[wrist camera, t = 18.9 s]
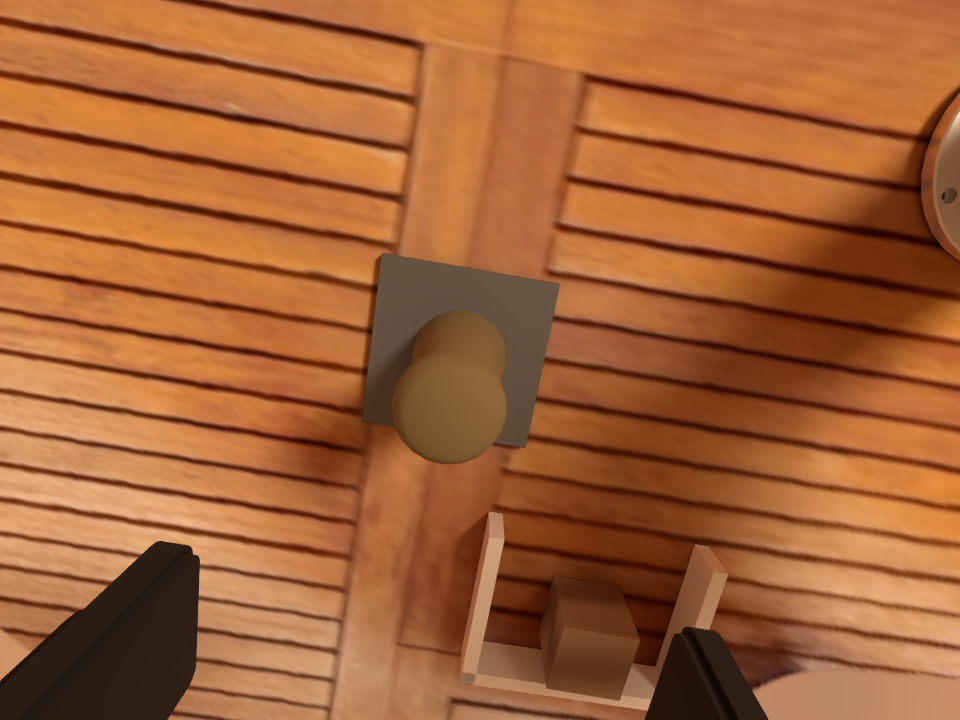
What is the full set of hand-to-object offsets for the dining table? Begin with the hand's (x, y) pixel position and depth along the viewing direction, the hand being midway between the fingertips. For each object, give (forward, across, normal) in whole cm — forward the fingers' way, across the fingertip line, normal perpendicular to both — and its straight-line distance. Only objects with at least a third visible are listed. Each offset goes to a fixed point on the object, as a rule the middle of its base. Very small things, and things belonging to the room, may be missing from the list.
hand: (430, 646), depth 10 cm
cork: (+23, +1, 0) cm, 23 cm away
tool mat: (+23, +1, 0) cm, 23 cm away
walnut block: (+23, -11, +18) cm, 32 cm away
